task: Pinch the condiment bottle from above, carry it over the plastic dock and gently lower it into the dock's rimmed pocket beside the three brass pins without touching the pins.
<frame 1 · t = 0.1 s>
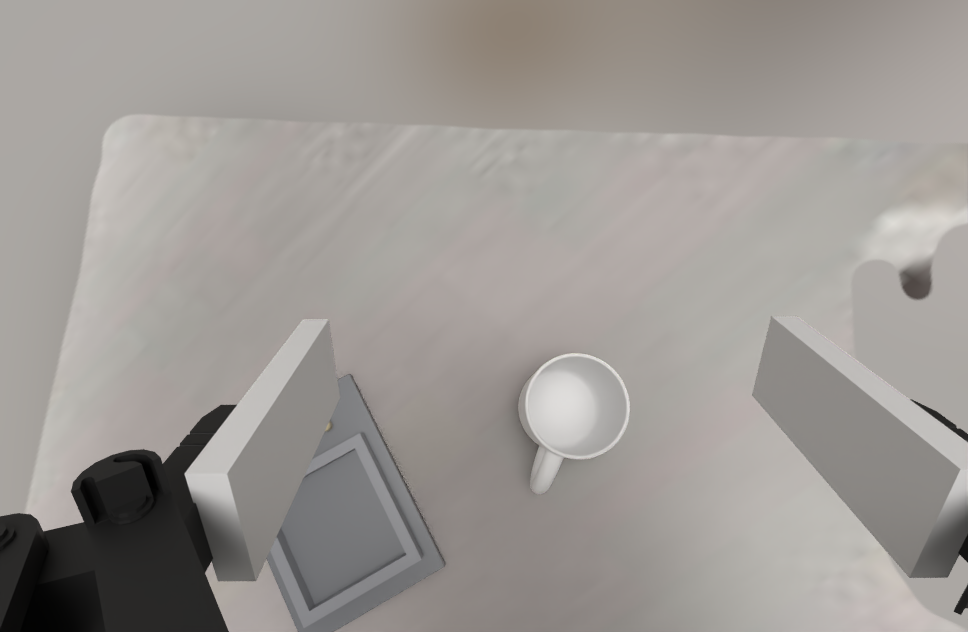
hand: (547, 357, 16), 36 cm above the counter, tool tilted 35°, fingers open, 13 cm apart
dock: (330, 502, 49), on the counter
mug: (552, 426, 50), on the counter
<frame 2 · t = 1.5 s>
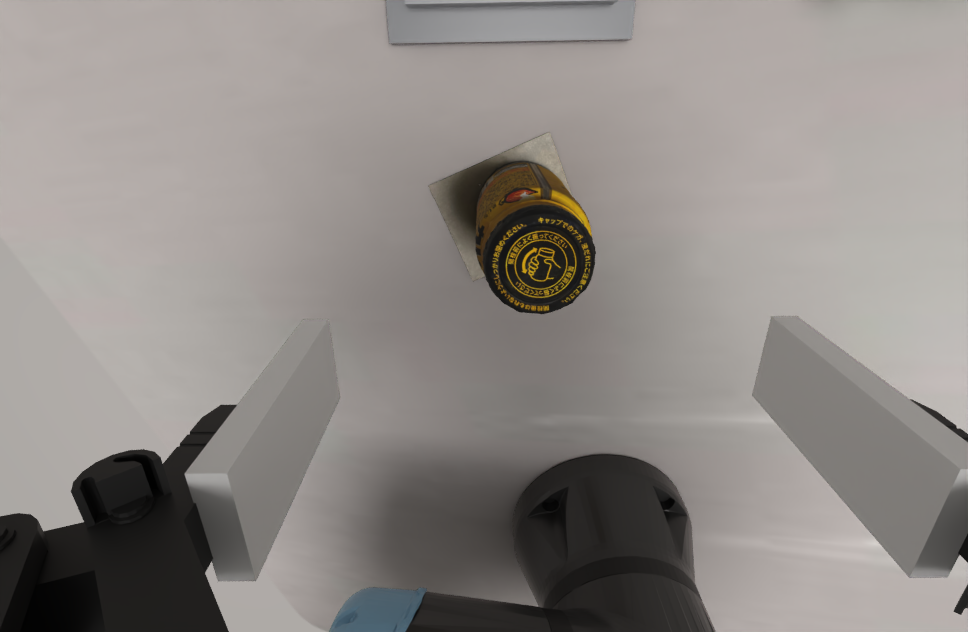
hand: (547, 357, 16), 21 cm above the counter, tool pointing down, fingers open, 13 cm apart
condiment: (508, 209, 35), on the counter
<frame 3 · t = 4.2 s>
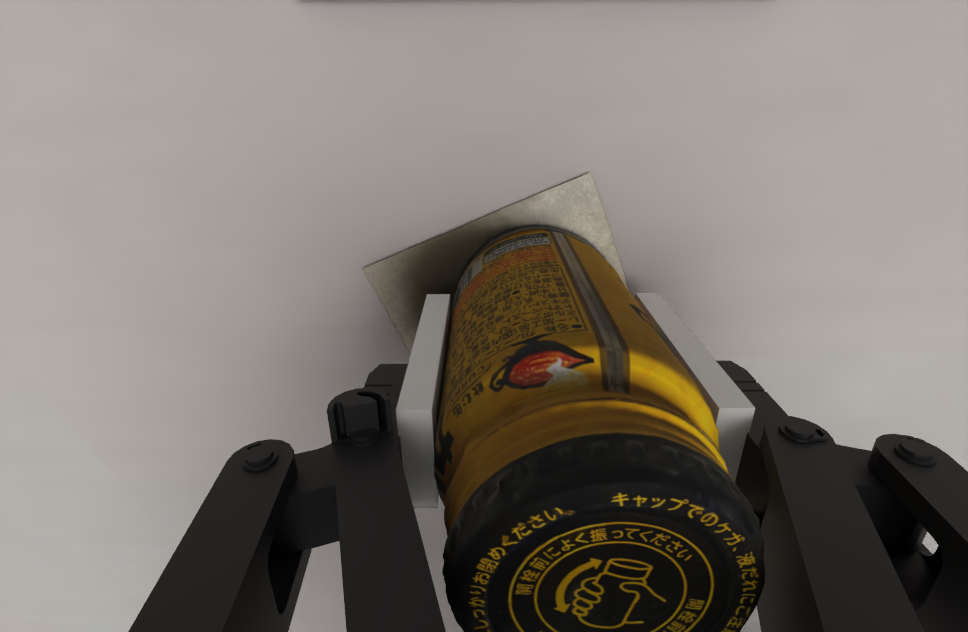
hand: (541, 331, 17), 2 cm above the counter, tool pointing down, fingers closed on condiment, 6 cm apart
condiment: (511, 307, 19), on the counter, touching gripper
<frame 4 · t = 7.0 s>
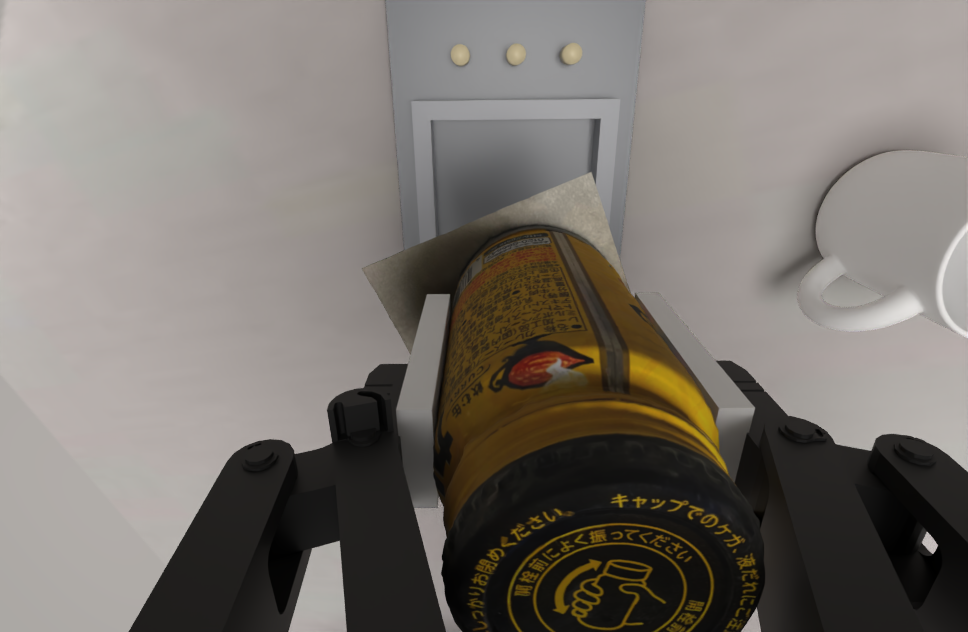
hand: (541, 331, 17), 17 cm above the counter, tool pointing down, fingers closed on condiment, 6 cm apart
condiment: (511, 307, 19), point 15 cm above the counter, touching gripper
dock: (512, 173, 32), on the counter
mug: (846, 231, 34), on the counter
when the fingers open (4 cm above the counter, at t = 9.5 s): condiment stays where it is, resting on dock.
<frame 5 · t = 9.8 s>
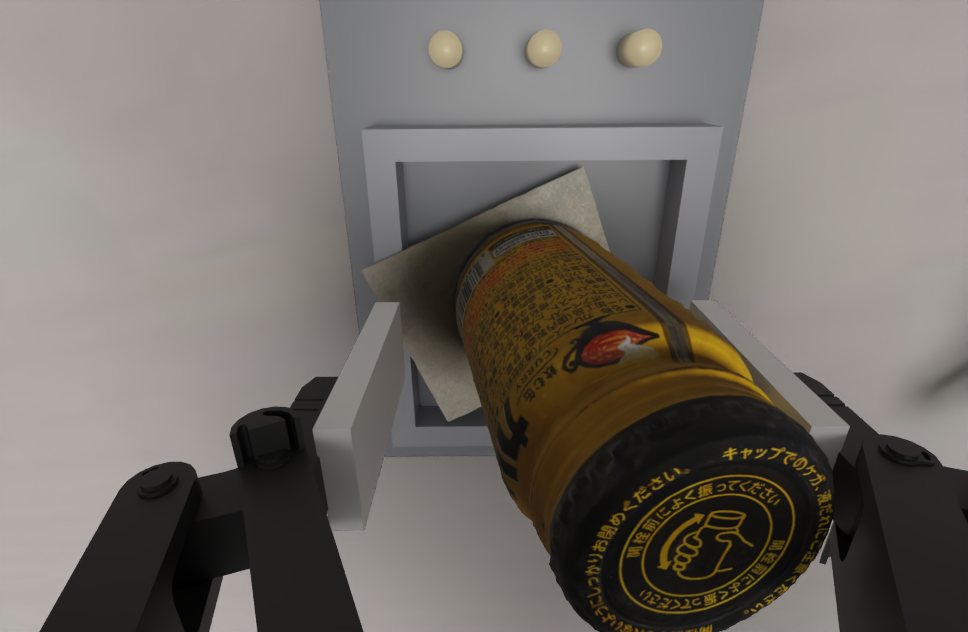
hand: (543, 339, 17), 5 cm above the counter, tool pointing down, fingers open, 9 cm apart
condiment: (507, 301, 20), point 1 cm above the counter, touching dock
dock: (531, 238, 20), on the counter
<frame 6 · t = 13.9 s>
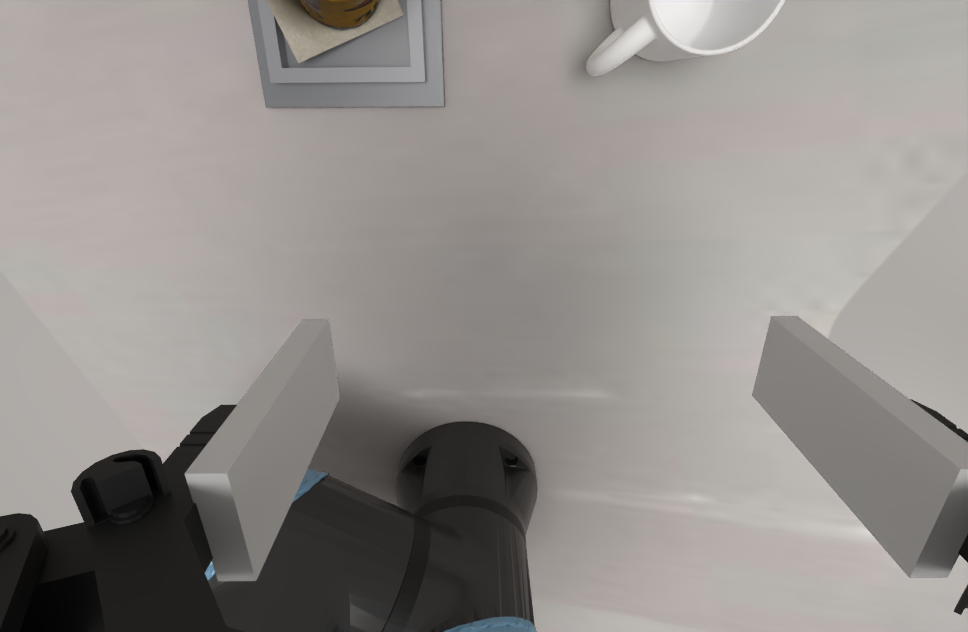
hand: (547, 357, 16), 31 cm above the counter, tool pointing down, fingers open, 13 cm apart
mug: (640, 18, 39), on the counter
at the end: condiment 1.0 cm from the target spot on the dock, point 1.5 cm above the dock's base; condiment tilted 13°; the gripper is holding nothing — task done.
